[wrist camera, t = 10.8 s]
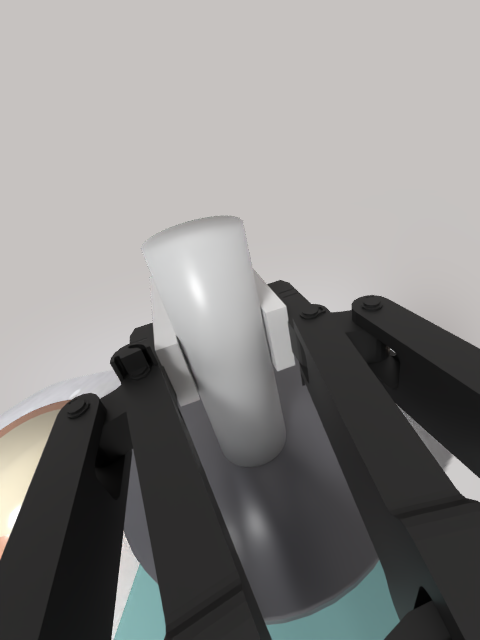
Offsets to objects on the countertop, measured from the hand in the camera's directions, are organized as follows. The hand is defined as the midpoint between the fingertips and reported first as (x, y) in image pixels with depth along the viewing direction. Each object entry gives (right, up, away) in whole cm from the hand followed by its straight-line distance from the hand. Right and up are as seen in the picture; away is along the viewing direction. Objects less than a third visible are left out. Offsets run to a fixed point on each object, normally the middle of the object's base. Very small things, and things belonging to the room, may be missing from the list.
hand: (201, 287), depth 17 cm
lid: (+3, -8, -1) cm, 8 cm away
